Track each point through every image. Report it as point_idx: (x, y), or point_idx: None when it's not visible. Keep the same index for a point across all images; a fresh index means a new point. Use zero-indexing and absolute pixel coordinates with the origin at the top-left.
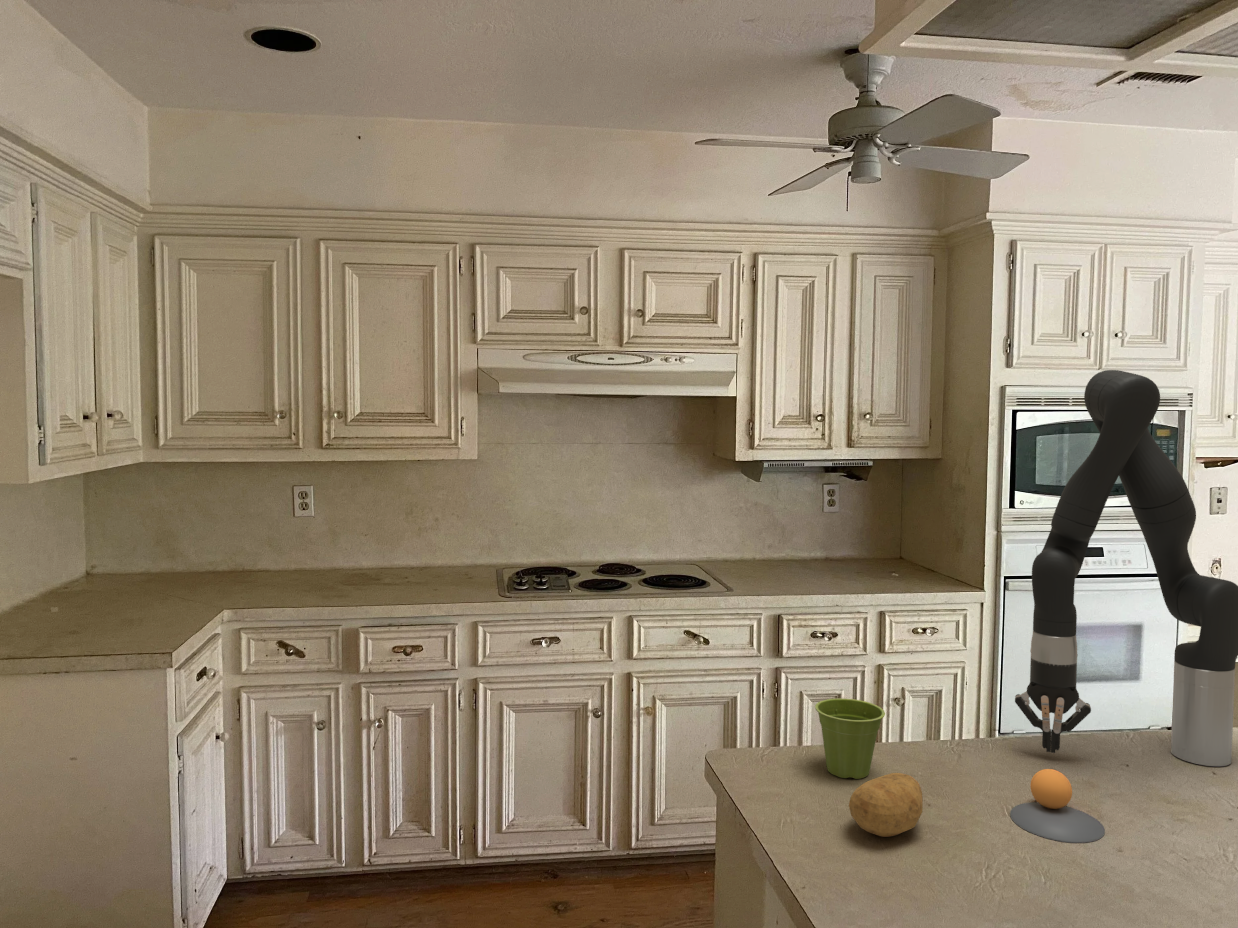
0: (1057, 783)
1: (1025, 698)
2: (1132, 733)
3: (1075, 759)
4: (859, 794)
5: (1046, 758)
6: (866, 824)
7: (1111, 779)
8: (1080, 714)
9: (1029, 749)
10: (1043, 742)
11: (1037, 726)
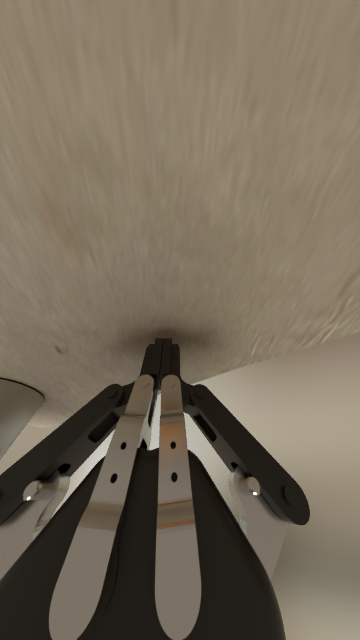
0: None
1: (258, 515)
2: None
3: (129, 344)
4: None
5: (171, 333)
6: None
7: (42, 281)
8: (38, 464)
9: (195, 354)
10: (177, 353)
11: (194, 386)
